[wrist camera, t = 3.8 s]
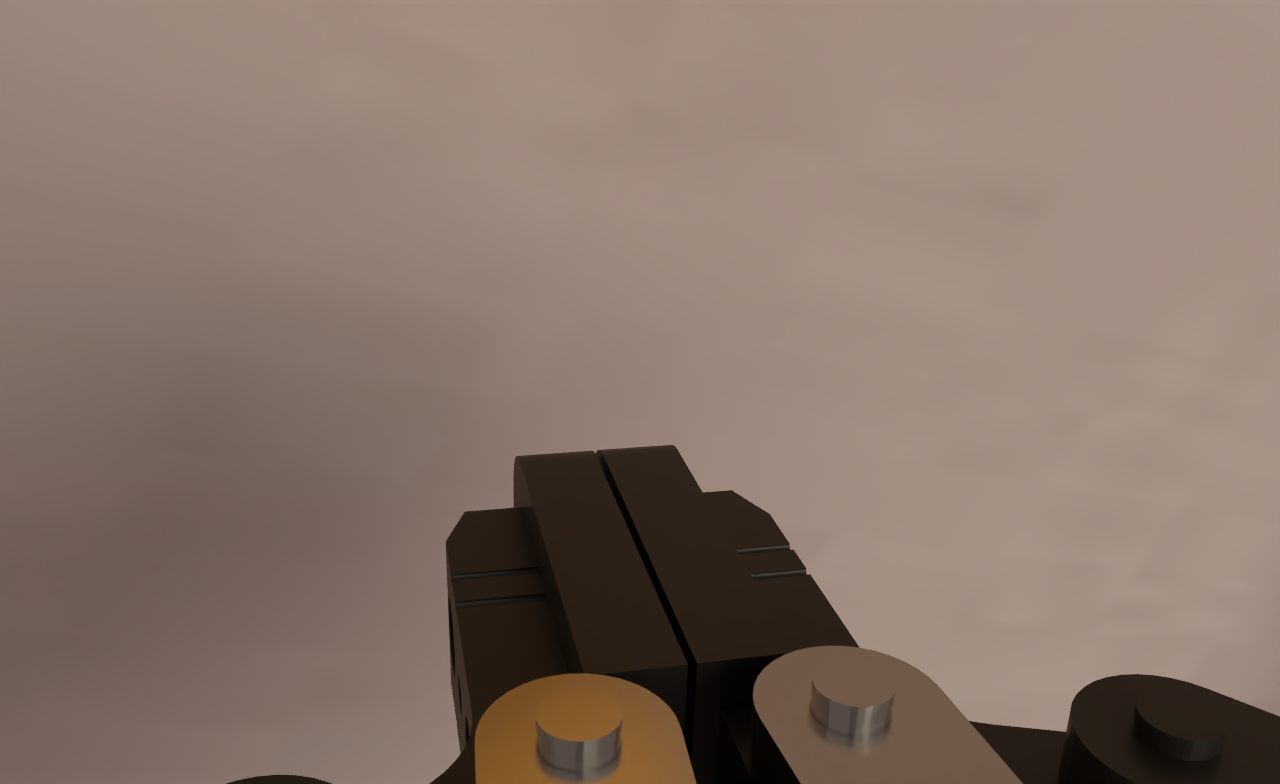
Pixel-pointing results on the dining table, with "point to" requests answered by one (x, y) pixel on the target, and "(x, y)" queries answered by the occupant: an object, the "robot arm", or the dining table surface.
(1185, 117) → the dining table surface
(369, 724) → the dining table surface
